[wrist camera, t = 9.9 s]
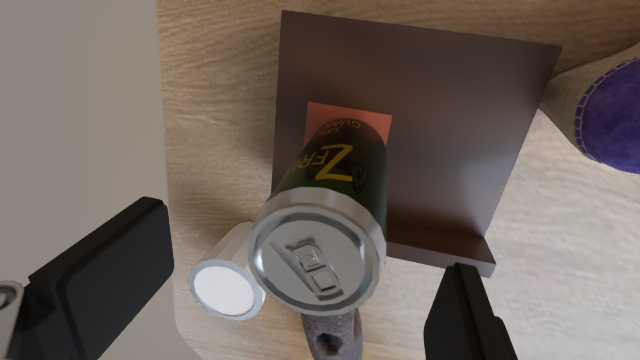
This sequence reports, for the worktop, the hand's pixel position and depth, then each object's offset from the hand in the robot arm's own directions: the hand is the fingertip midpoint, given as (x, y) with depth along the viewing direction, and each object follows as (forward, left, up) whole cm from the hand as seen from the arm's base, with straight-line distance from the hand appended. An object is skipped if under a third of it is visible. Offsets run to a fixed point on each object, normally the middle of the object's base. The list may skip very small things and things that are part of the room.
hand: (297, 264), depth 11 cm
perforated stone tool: (+20, +2, -18) cm, 27 cm away
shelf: (-1, +3, -18) cm, 18 cm away
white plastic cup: (+14, -8, -18) cm, 25 cm away
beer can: (+1, 0, -13) cm, 13 cm away
